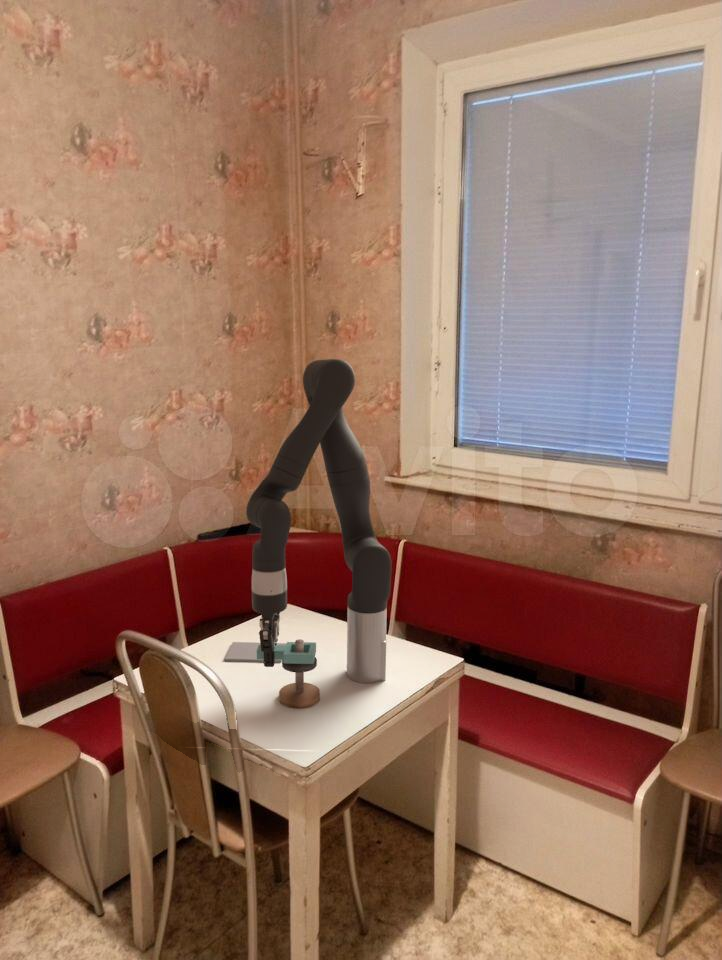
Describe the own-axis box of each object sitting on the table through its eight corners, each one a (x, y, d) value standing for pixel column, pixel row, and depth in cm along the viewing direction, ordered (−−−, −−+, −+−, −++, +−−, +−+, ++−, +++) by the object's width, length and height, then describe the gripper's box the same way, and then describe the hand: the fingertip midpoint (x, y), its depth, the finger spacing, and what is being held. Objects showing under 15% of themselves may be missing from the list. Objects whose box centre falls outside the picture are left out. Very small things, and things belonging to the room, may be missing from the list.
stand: (321, 689, 161) (321, 633, 158) (318, 709, 152) (318, 650, 150) (282, 688, 161) (281, 632, 159) (276, 707, 152) (275, 649, 150)
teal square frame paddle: (316, 650, 158) (316, 642, 157) (313, 663, 151) (313, 655, 151) (260, 649, 158) (260, 641, 158) (255, 662, 152) (255, 654, 151)
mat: (286, 645, 184) (286, 643, 184) (281, 662, 174) (281, 660, 174) (233, 644, 184) (232, 641, 184) (224, 661, 174) (224, 658, 174)
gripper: (282, 599, 145) (283, 677, 148) (290, 577, 159) (291, 649, 162) (246, 599, 145) (247, 677, 148) (257, 576, 159) (258, 648, 162)
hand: (270, 662), depth 155 cm, fingers closed on teal square frame paddle, 3 cm apart
